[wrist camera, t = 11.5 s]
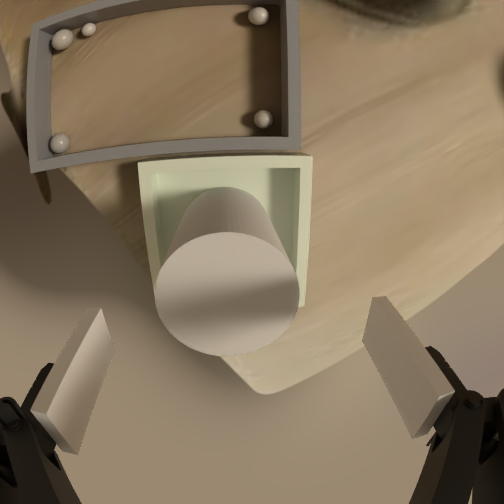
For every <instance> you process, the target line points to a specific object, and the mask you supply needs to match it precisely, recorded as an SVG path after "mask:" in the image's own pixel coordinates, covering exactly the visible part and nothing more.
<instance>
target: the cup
mask: <svg viewBox="0 0 504 504" xmlns="http://www.w3.org/2000/svg"><path fill="white" fill-rule="evenodd" d="M299 298H300V289H299V282H298V278H297V275H296V273H295V271H294V268H293V266H292V264H291V262H290V260H289V258H288V256H287V254H286V252H285V250H284V248H283V246H282V243H281V241H280V239H279V237H278V235H277V233H276V231H275V229H274V227H273V225H272V223H271V221H270V219H269V217H268V215H267V213H266V211H265V209H264V207H263V206H262V204H261V203H260V202H259V201H258V200H257V199H256V198H255V197H254V196H253V195H251V194H250V193H248V192H246V191H244V190H241V189H238V188H234V187H218V188H213V189H210V190H207V191H205V192H203V193H201V194H200V195H198V196H197V197H196V198H195V199H194V200H193V201H192V202H191V203H190V204H189V205H188V207H187V209H186V210H185V212H184V215H183V217H182V219H181V222H180V224H179V226H178V228H177V231H176V233H175V235H174V238H173V240H172V243H171V245H170V247H169V250H168V252H167V255H166V257H165V260H164V262H163V264H162V267H161V269H160V272H159V275H158V277H157V281H156V285H155V303H156V308H157V311H158V314H159V316H160V318H161V320H162V322H163V324H164V325H165V327H166V328H167V329H168V331H169V332H170V333H171V334H172V335H173V336H174V337H175V338H176V339H178V340H179V341H180V342H182V343H183V344H185V345H186V346H188V347H190V348H192V349H194V350H197V351H200V352H202V353H206V354H211V355H217V356H237V355H243V354H248V353H251V352H254V351H257V350H259V349H262V348H264V347H266V346H267V345H269V344H271V343H272V342H274V341H275V340H276V339H277V338H279V337H280V336H281V335H282V334H283V333H284V332H285V331H286V329H287V328H288V327H289V325H290V324H291V322H292V321H293V319H294V317H295V315H296V312H297V309H298V305H299Z"/></svg>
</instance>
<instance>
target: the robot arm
mask: <svg viewBox="0 0 504 504" xmlns="http://www.w3.org/2000/svg"><path fill="white" fill-rule="evenodd" d="M362 341H363V343H364V345H365V347H366V349H367V350H368V352H369V354H370V356H371V358H372V360H373V361H374V364H375V366H376V367H377V369H378V371H379V373H380V375H381V377H382V379H383V381H384V383H385V384H386V387H387V389H388V391H389V392H390V395H391V397H392V398H393V400H394V402H395V404H396V406H397V408H398V411H399V413H400V415H401V417H402V419H403V420H404V422H405V425H406V427H407V429H408V431H409V433H410V435H411V437H412V439H414V438H417V437H420V436H423V435H425V434H427V433H428V432H429V431H430V429H431V428H432V426H434V428H435V430H436V432H435V434H434V435H433V436H432V438H431V439H430V440H429V442H428V443H427V445H426V446H429V445H430V443H431V446H430V449H429V452H428V455H427V458H426V461H425V464H424V467H423V469H422V472H421V475H420V478H419V480H418V483H417V485H416V488H415V490H414V493H413V495H412V498H411V500H410V502H409V504H468V501H469V498H470V494H471V490H472V504H504V389H502V390H501V391H500V393H499V394H498V396H497V397H489V398H483V396H482V395H480V394H479V393H478V392H475V391H471V390H468V391H467V389H466V388H465V387H464V385H463V384H462V382H461V381H460V380H459V378H458V377H457V375H456V374H455V373H454V371H453V370H452V369H451V368H450V366H449V364H448V363H447V362H446V361H445V359H444V358H443V356H442V355H441V354H440V352H438V351H437V350H436V349H434V348H433V347H431V346H429V347H424V346H423V344H422V343H421V342H420V341H419V339H418V338H417V336H416V335H415V334H414V333H413V331H412V330H411V328H410V327H409V326H408V324H407V323H406V322H405V320H404V319H403V318H402V316H401V315H400V314H399V313H398V311H397V310H396V309H395V307H394V306H393V305H392V304H391V302H390V301H389V300H388V298H387V297H386V296H382V297H372V302H371V306H370V311H369V315H368V319H367V324H366V328H365V332H364V336H363V340H362ZM114 352H115V349H114V346H113V344H112V341H111V338H110V335H109V332H108V329H107V325H106V322H105V319H104V316H103V313H102V309H101V308H87V310H86V311H85V313H84V315H83V316H82V318H81V320H80V321H79V323H78V325H77V326H76V328H75V329H74V331H73V333H72V334H71V336H70V338H69V339H68V341H67V343H66V344H65V346H64V348H63V349H62V351H61V353H60V355H59V356H58V358H57V360H56V362H55V364H53V363H48V364H47V365H46V366H45V367H44V368H42V369H41V371H40V372H39V374H38V376H37V378H36V380H35V381H34V383H33V385H32V386H33V387H31V389H30V390H29V393H28V394H27V396H26V398H25V400H24V402H23V404H22V406H21V408H20V407H19V405H18V404H17V402H16V401H15V400H14V399H13V398H11V397H3V398H1V399H0V504H82V503H81V502H80V500H79V498H78V496H77V494H76V493H75V491H74V489H73V487H72V485H71V483H70V481H69V479H68V477H67V475H66V473H65V471H64V469H63V466H62V464H61V462H60V460H59V457H58V455H57V453H56V452H55V450H54V449H55V446H56V444H57V445H58V446H59V448H60V449H61V450H62V451H64V452H68V453H72V454H76V455H78V453H79V450H80V447H81V444H82V440H83V437H84V434H85V431H86V428H87V425H88V422H89V419H90V416H91V413H92V410H93V408H94V405H95V402H96V399H97V396H98V393H99V391H100V388H101V386H102V383H103V380H104V378H105V375H106V373H107V370H108V367H109V365H110V362H111V360H112V357H113V355H114ZM472 487H473V489H472Z"/></svg>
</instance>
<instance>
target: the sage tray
mask: <svg viewBox="0 0 504 504" xmlns="http://www.w3.org/2000/svg"><path fill="white" fill-rule="evenodd" d="M312 162H313V156H311V155H308V154H305V153H227V154H204V155H187V156H174V157H161V158H150V159H145V160H143V161H140V162H138V173H139V184H140V195H141V205H142V214H143V222H144V230H145V238H146V245H147V252H148V259H149V265H150V271H151V277H152V283H153V289H154V294H155V285H156V281H157V277H158V275H159V272H160V269H161V267H162V264H163V262H164V260H165V257H166V255H167V252H168V250H169V247H170V245H171V243H172V240H173V238H174V235H175V233H176V231H177V228H178V226H179V224H180V222H181V219H182V217H183V215H184V212H185V210H186V209H187V207H188V205H189V204H190V203H191V202H192V201H193V200H194V199H195V198H196V197H197V196H198V195H200V194H201V193H203V192H205V191H207V190H210V189H213V188H218V187H234V188H238V189H241V190H244V191H246V192H248V193H250V194H251V195H253V196H254V197H255V198H256V199H257V200H258V201H259V202H260V203H261V204H262V206H263V207H264V209H265V211H266V213H267V215H268V217H269V219H270V221H271V223H272V225H273V227H274V229H275V231H276V233H277V235H278V237H279V239H280V241H281V243H282V246H283V248H284V250H285V252H286V254H287V256H288V258H289V260H290V262H291V264H292V266H293V268H294V271H295V273H296V275H297V278H298V282H299V289H300V298H299V305H298V307H302V306H304V303H305V291H306V279H307V265H308V251H309V235H310V216H311V193H312Z"/></svg>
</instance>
